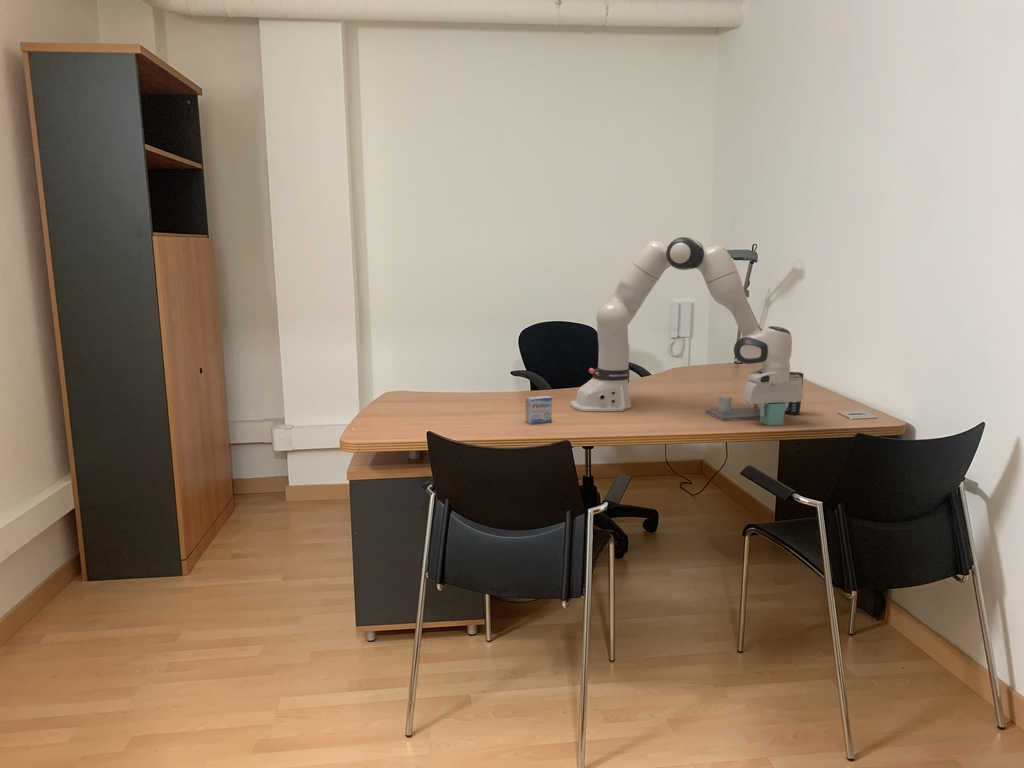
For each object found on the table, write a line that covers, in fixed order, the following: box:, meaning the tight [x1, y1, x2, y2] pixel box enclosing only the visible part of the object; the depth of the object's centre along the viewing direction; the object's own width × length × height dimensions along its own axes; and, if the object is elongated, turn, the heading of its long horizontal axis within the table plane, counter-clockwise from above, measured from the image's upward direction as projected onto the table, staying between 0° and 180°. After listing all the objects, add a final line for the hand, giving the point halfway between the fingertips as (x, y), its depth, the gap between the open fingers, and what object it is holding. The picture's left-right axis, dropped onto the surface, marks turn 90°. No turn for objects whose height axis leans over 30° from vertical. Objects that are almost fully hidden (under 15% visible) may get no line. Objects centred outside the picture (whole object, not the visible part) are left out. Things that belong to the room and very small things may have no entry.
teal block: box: [759, 403, 785, 426], centre depth 243 cm, size 5×5×7 cm
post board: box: [704, 404, 760, 421], centre depth 254 cm, size 22×12×7 cm, turn 103°
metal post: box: [717, 395, 733, 415], centre depth 252 cm, size 3×3×6 cm
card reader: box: [784, 371, 805, 416], centre depth 256 cm, size 9×4×15 cm, turn 66°
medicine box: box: [525, 395, 553, 425], centre depth 243 cm, size 8×4×9 cm, turn 114°
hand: (772, 415), depth 244 cm, fingers closed on teal block, 5 cm apart
